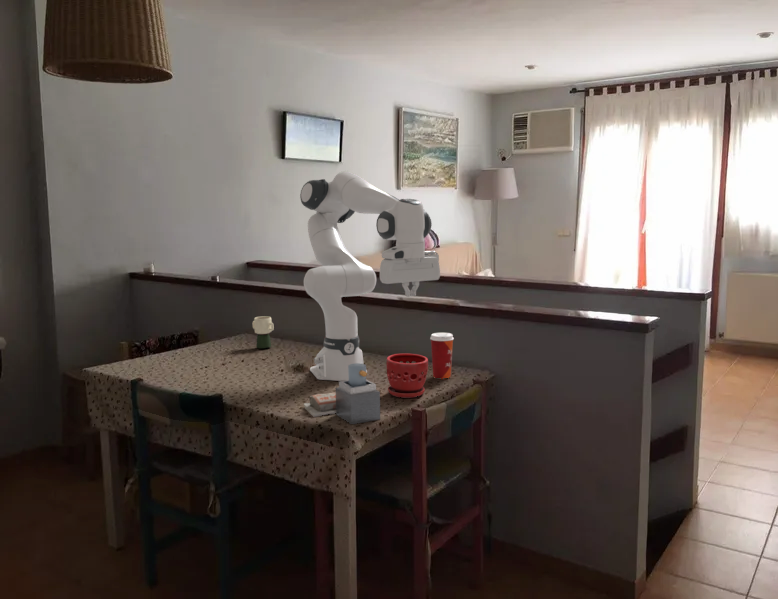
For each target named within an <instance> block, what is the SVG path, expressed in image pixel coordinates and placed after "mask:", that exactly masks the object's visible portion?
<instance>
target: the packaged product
mask: <svg viewBox="0 0 778 599" xmlns="http://www.w3.org/2000/svg"><path fill="white" fill-rule="evenodd" d="M304 407H305V408H304ZM303 408H304V409H305V411H307V412H308V413H309V414H310V415H311V416H312V417H314V418H316V417H322V415H323V416H326V415H328V414H330V415H336V414H335V413H336V391H334V392H328V393H318V394H313V395H310V396H309V402H305V403H303ZM328 416H329V415H328Z"/></svg>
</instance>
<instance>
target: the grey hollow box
mask: <svg viewBox="0 0 778 599" xmlns="http://www.w3.org/2000/svg"><path fill="white" fill-rule="evenodd" d="M335 392H336V414H335V416H337V417H338V418H340V417H341V418H340V419H342V420H343V419H344V421H345V420H346V421H347V422H346V421H345V422H346V423H348V422H349V423H348V424H349V425H351V424H353V425H357V423H358V424H361V423H368V422H373V421H378V420H381V391H379V390H378V389H377V384H376V383H374V382H373V381H370V380H368V378H366V385H362V386H356V387H351V386H349V380H345V381H338V386H337V387H335Z"/></svg>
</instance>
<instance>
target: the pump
mask: <svg viewBox="0 0 778 599" xmlns="http://www.w3.org/2000/svg"><path fill="white" fill-rule="evenodd" d="M366 370H367V364H364V363H363V364H360V363H356V364H350V365H348V376H349V386H351V387H356V386H362V385H366V379H367V375H368V372H367V373H366Z"/></svg>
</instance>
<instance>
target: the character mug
mask: <svg viewBox="0 0 778 599" xmlns="http://www.w3.org/2000/svg"><path fill="white" fill-rule="evenodd" d="M251 325H252V329H253V330H254V334H257V336H256V345H255V346H256V348H257V349H266V348H267V349H268V348H272V341H271V336H270V333H272V331H274V330H275V329H274V328H275V327H274V323H273V321H272V317H271V316H267V315H266V316H265V315H264V316H256V317H254V318H253V321H252V324H251Z"/></svg>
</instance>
